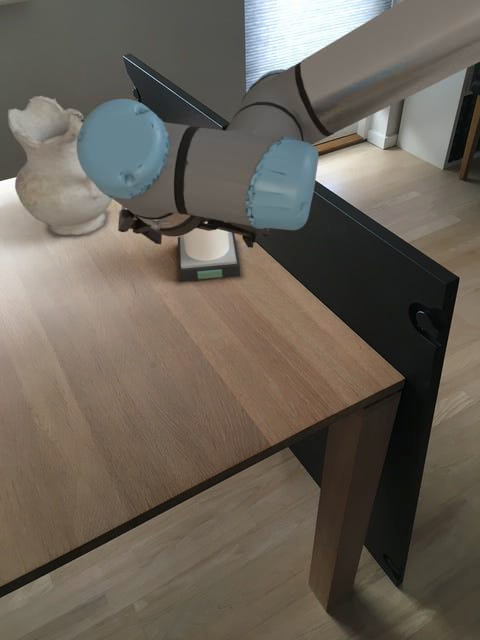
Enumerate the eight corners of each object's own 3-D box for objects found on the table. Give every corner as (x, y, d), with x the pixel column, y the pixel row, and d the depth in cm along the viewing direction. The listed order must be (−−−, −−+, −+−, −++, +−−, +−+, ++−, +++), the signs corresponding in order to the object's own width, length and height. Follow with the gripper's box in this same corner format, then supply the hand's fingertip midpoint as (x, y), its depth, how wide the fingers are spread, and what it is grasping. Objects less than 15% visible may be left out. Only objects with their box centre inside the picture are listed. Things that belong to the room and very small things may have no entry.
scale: (234, 242, 106) (234, 229, 104) (240, 277, 98) (239, 264, 96) (179, 247, 106) (177, 234, 104) (180, 283, 97) (178, 269, 95)
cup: (234, 256, 98) (229, 174, 87) (190, 264, 96) (179, 183, 86) (223, 232, 104) (217, 153, 93) (181, 240, 102) (170, 161, 91)
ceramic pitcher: (148, 216, 117) (133, 97, 102) (92, 259, 103) (64, 128, 88) (70, 198, 125) (45, 84, 109) (8, 235, 111) (-31, 111, 96)
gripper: (52, 226, 59) (120, 258, 80) (281, 234, 55) (289, 265, 76) (58, 158, 59) (124, 208, 80) (285, 162, 56) (292, 213, 77)
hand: (204, 236), depth 78 cm, fingers open, 13 cm apart
